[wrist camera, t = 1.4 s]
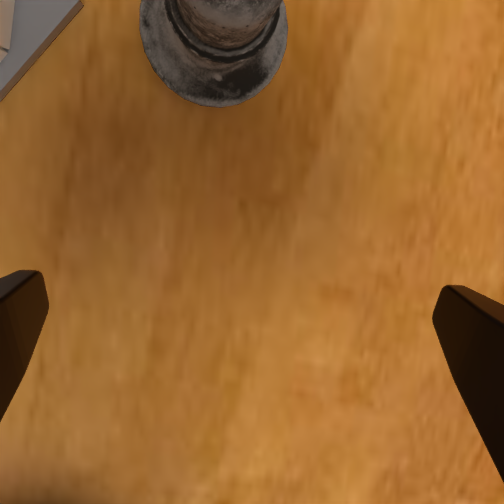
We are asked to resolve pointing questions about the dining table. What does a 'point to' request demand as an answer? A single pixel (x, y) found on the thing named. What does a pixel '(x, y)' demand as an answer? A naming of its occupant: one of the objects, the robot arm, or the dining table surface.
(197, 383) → the dining table surface
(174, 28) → the dark grey tiered column
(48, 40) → the socket board
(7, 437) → the dining table surface
